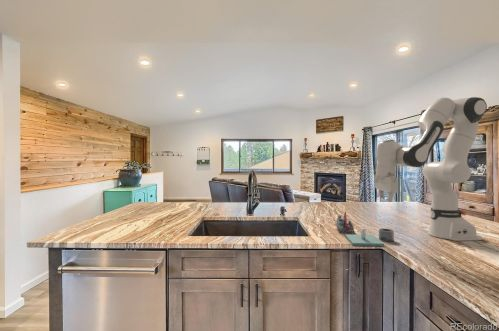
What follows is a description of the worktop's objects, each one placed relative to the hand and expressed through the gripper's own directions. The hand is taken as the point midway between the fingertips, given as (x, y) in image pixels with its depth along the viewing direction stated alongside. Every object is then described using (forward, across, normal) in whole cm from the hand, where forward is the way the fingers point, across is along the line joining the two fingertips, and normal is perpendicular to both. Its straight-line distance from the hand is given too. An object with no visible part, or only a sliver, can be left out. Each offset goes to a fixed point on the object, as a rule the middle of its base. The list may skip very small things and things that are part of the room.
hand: (385, 200), depth 130 cm
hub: (+20, 0, -1) cm, 20 cm away
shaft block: (+20, -3, +11) cm, 24 cm away
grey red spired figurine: (+21, +16, +16) cm, 31 cm away
